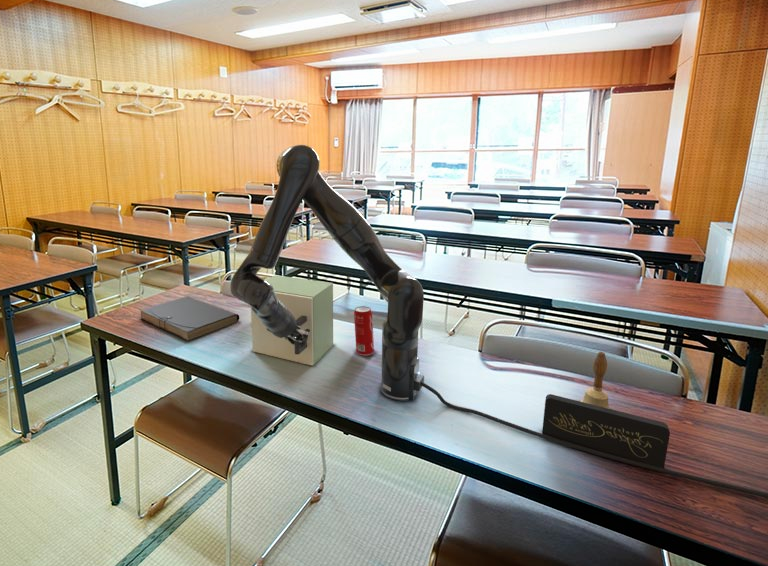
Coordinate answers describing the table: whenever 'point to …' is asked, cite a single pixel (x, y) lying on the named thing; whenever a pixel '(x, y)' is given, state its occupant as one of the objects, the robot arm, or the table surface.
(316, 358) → the cupboard
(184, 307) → the file folder
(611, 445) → the nameplate
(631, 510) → the table surface
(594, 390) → the hand bell
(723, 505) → the table surface
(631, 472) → the table surface
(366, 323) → the beverage can
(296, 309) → the door
